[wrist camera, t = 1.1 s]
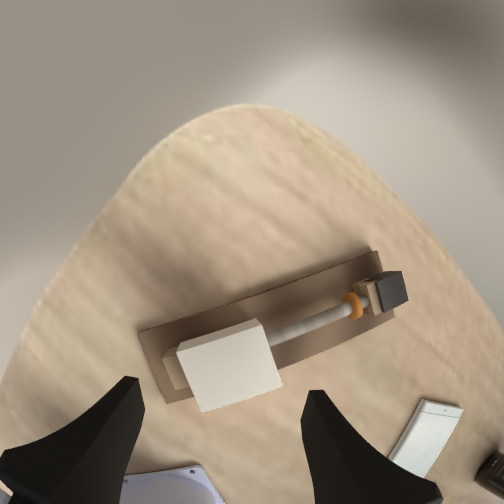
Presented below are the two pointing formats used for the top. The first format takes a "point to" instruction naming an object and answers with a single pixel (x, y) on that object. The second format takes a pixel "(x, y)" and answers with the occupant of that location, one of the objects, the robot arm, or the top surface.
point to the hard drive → (425, 436)
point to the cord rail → (286, 318)
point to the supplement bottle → (492, 474)
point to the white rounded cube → (229, 365)
